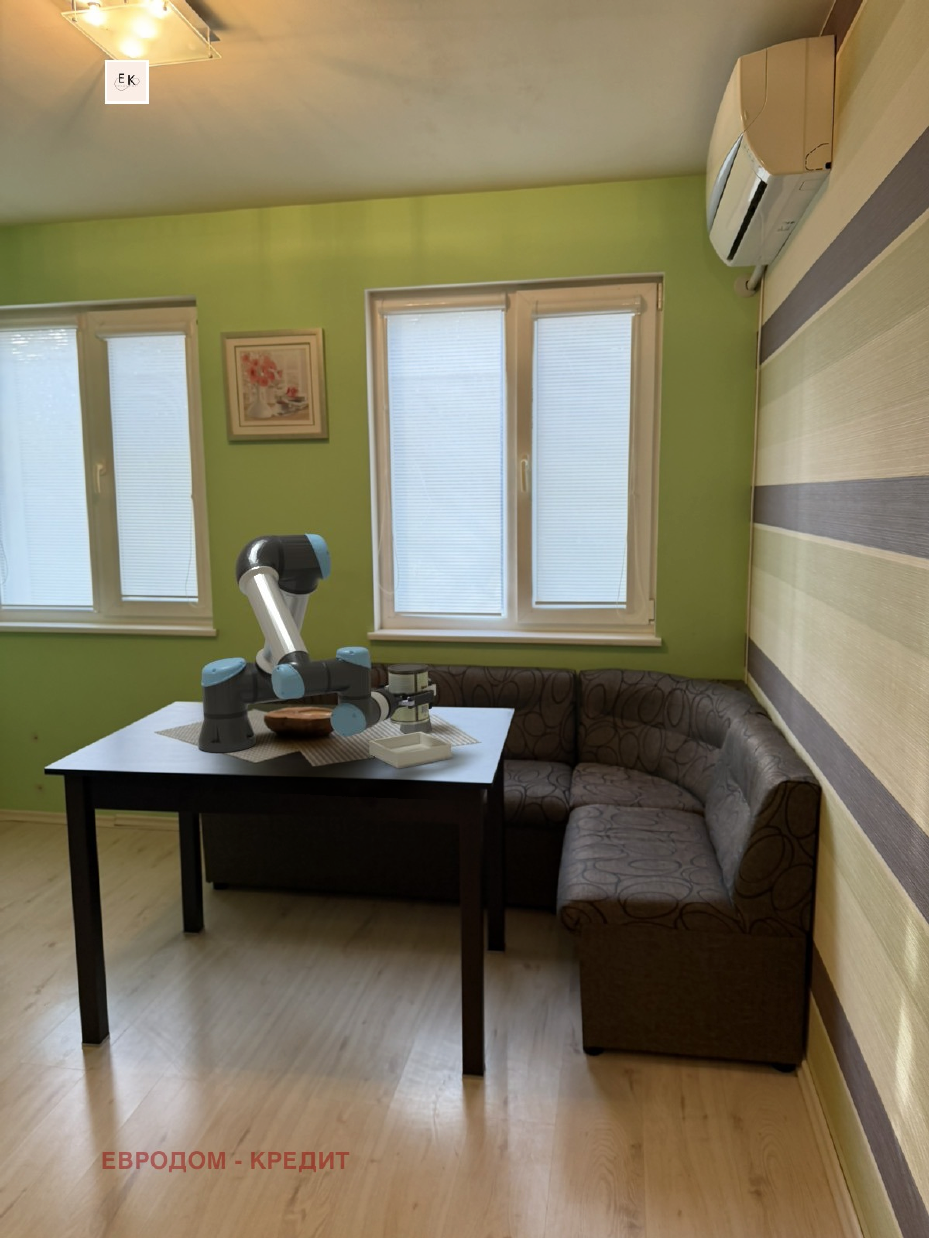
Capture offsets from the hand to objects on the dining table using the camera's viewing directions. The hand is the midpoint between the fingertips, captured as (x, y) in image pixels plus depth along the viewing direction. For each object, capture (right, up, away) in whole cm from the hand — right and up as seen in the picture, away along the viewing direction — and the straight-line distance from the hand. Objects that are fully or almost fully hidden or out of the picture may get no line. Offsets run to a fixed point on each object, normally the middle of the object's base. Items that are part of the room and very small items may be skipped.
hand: (415, 688), depth 222 cm
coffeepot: (-1, -14, +23) cm, 27 cm away
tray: (-1, -17, -2) cm, 18 cm away
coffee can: (-2, -8, -3) cm, 9 cm away
